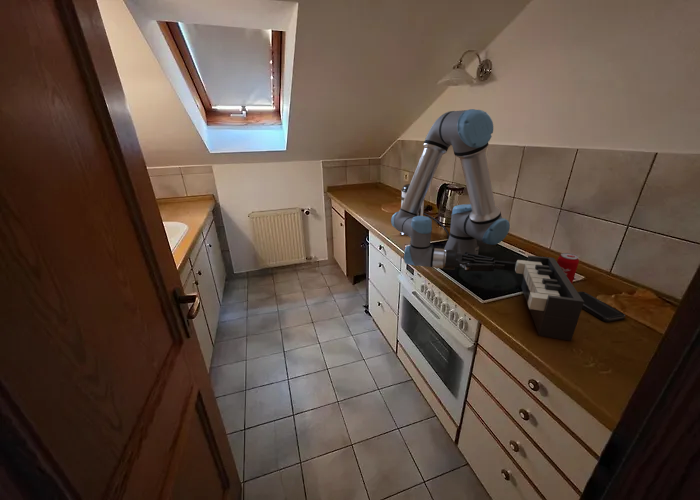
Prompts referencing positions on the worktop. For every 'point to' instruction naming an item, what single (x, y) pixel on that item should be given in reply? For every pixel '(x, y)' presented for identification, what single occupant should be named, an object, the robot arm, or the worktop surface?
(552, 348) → the worktop surface
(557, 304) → the piano
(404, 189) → the coffee press
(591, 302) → the phone
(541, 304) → the key near
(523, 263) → the key far
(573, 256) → the beverage can
